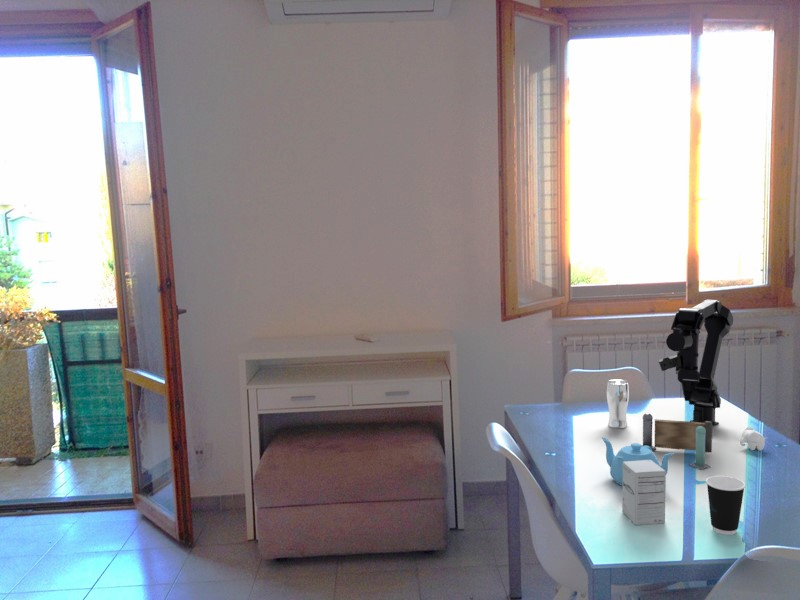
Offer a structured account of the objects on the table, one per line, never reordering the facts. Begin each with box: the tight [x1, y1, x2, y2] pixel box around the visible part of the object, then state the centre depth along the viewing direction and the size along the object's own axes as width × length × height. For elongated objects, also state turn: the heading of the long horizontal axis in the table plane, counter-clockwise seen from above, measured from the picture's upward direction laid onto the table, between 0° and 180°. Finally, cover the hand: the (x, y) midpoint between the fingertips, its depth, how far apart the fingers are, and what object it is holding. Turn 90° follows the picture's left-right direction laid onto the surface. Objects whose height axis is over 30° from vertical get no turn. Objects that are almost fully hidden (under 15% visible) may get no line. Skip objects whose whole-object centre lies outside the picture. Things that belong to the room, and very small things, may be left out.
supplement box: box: [621, 460, 667, 526], centre depth 158 cm, size 7×7×13 cm
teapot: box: [601, 437, 675, 487], centre depth 179 cm, size 15×15×10 cm
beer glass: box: [606, 379, 630, 430], centre depth 227 cm, size 7×7×15 cm
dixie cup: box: [705, 475, 746, 536], centre depth 151 cm, size 8×8×11 cm
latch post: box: [688, 426, 712, 471], centre depth 189 cm, size 4×4×11 cm
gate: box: [654, 418, 713, 454], centre depth 200 cm, size 16×2×9 cm, turn 69°
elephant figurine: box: [738, 426, 769, 452], centre depth 202 cm, size 7×8×6 cm
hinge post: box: [641, 412, 657, 452], centre depth 204 cm, size 5×5×11 cm
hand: (685, 398), depth 215 cm, fingers open, 9 cm apart
